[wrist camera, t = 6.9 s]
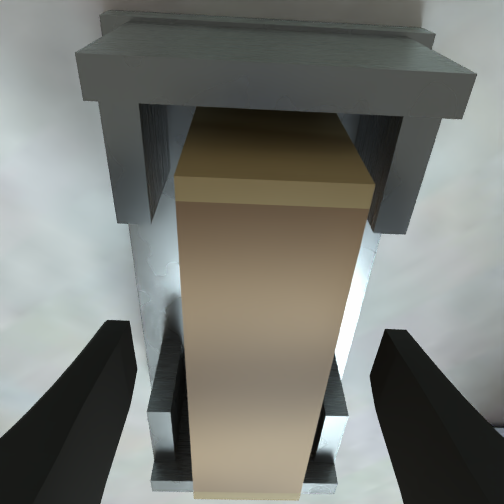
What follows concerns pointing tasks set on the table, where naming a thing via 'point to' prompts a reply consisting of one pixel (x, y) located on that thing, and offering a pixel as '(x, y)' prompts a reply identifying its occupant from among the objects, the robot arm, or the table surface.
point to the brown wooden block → (263, 288)
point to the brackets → (268, 98)
